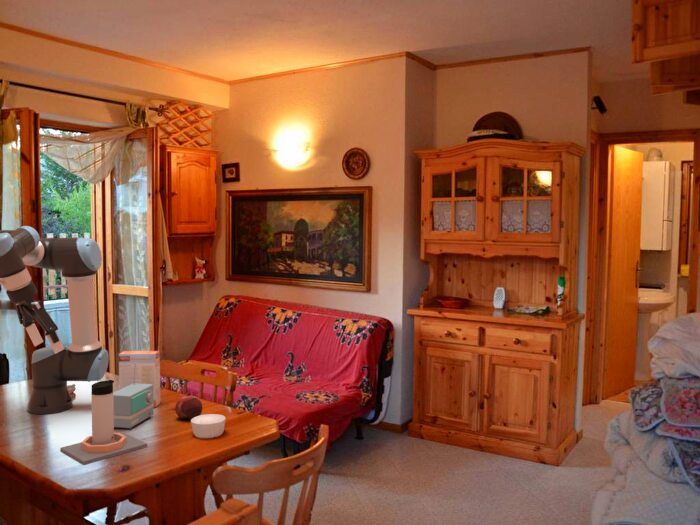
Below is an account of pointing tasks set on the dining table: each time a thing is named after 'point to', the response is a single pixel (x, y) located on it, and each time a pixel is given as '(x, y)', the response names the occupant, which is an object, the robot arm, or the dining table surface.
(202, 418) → the ramekin
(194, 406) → the fruit
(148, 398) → the radio
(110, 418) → the travel mug
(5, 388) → the dining table surface
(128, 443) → the mug stand
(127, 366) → the cracker box
